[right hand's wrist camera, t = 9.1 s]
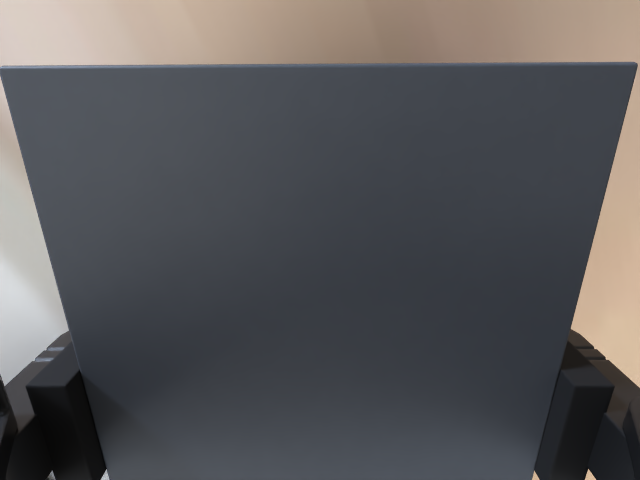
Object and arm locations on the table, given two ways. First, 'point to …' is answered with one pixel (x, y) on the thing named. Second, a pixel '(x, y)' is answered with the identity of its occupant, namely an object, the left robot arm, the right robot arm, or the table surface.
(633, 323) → the table surface
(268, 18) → the table surface
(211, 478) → the thick board
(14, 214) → the table surface
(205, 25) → the table surface
